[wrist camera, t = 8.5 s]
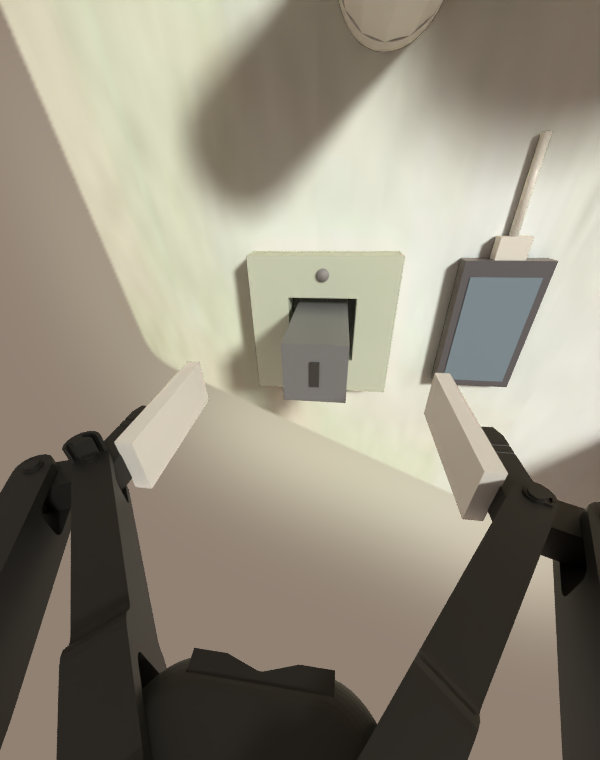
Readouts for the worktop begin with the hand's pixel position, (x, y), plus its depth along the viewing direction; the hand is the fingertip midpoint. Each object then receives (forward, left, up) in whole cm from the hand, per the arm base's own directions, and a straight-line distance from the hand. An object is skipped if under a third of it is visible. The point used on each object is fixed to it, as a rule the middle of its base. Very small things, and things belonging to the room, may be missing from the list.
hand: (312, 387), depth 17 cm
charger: (0, 0, -12) cm, 12 cm away
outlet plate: (0, 0, -12) cm, 12 cm away
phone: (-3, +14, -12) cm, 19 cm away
